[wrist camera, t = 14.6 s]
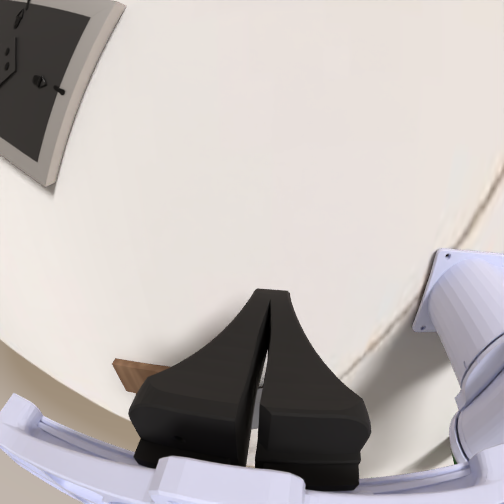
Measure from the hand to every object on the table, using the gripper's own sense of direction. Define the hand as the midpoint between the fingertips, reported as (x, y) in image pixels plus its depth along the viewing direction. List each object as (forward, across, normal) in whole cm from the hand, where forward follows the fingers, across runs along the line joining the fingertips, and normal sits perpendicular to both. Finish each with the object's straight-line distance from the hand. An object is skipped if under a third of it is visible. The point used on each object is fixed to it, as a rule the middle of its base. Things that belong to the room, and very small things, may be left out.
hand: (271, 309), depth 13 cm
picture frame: (+11, +24, -15) cm, 30 cm away
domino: (+10, +10, +19) cm, 24 cm away
